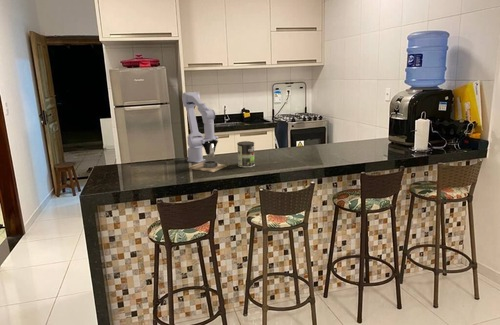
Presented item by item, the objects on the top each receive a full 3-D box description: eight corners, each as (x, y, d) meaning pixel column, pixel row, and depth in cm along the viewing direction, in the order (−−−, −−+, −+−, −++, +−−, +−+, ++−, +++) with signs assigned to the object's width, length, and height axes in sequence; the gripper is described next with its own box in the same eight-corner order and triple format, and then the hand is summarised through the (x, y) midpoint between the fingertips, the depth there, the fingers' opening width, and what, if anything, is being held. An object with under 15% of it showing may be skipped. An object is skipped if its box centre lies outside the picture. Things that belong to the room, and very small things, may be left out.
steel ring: (200, 167, 220) (200, 163, 219) (209, 163, 227) (209, 159, 226) (211, 168, 215) (211, 164, 215) (220, 165, 222) (220, 161, 222)
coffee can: (257, 164, 227) (257, 142, 223) (249, 168, 218) (248, 145, 215) (243, 162, 232) (243, 140, 228) (234, 166, 224) (233, 143, 220)
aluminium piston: (205, 157, 220) (204, 144, 217) (210, 155, 223) (209, 142, 221) (211, 158, 217) (210, 144, 215) (215, 156, 221) (215, 143, 219)
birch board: (189, 168, 221) (188, 166, 221) (203, 162, 233) (203, 161, 233) (212, 172, 212) (212, 170, 212) (226, 166, 223) (226, 164, 223)
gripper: (206, 133, 208) (208, 156, 212) (222, 129, 220) (222, 151, 223) (197, 132, 212) (198, 155, 215) (212, 128, 223) (213, 150, 227)
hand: (210, 153), depth 220 cm, fingers closed on aluminium piston, 4 cm apart
